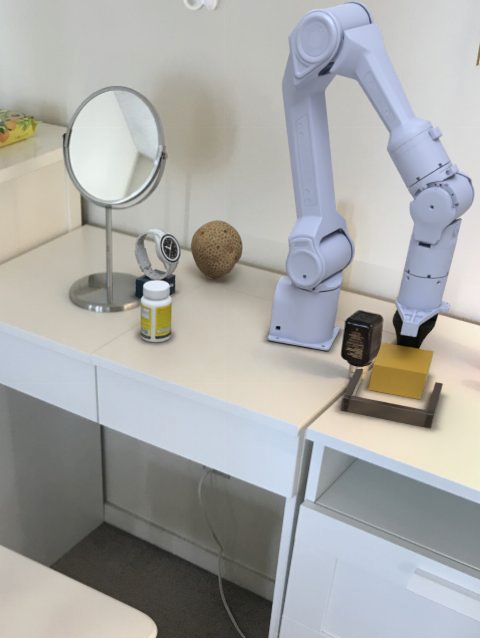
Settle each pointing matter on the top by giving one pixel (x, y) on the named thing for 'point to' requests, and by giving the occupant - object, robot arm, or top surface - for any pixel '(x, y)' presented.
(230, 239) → the natural sponge
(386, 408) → the bay
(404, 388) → the block
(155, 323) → the supplement bottle
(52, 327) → the top surface
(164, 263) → the watch
